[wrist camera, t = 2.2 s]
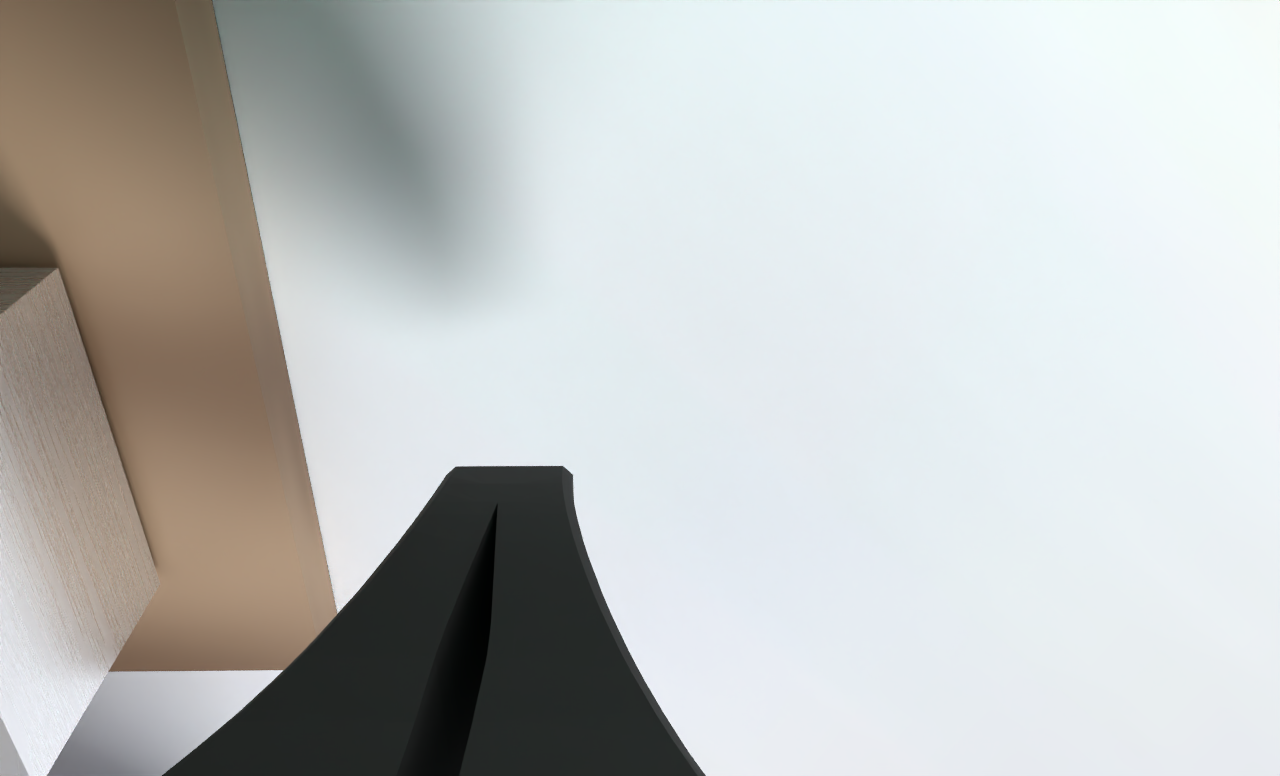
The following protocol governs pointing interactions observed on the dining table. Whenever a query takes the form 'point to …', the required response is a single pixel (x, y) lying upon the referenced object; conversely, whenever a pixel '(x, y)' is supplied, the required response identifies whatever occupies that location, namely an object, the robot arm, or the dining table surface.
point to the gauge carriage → (57, 527)
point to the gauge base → (167, 315)
